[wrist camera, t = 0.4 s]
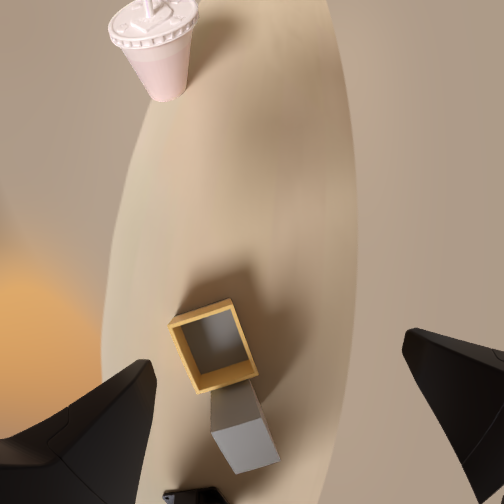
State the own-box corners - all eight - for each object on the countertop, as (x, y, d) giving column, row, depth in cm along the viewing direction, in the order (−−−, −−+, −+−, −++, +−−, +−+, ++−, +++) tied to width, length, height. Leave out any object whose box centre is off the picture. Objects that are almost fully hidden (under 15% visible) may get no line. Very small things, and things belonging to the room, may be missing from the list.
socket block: (252, 358, 21) (259, 374, 17) (199, 375, 20) (197, 394, 17) (230, 297, 21) (232, 304, 18) (174, 316, 20) (167, 325, 17)
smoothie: (130, 117, 20) (75, 4, 7) (140, 67, 21) (109, -39, 7) (199, 111, 21) (194, -20, 7) (202, 61, 22) (203, -54, 8)
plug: (260, 405, 21) (280, 460, 13) (228, 415, 20) (235, 474, 13) (245, 368, 21) (261, 417, 13) (211, 379, 20) (210, 432, 13)
